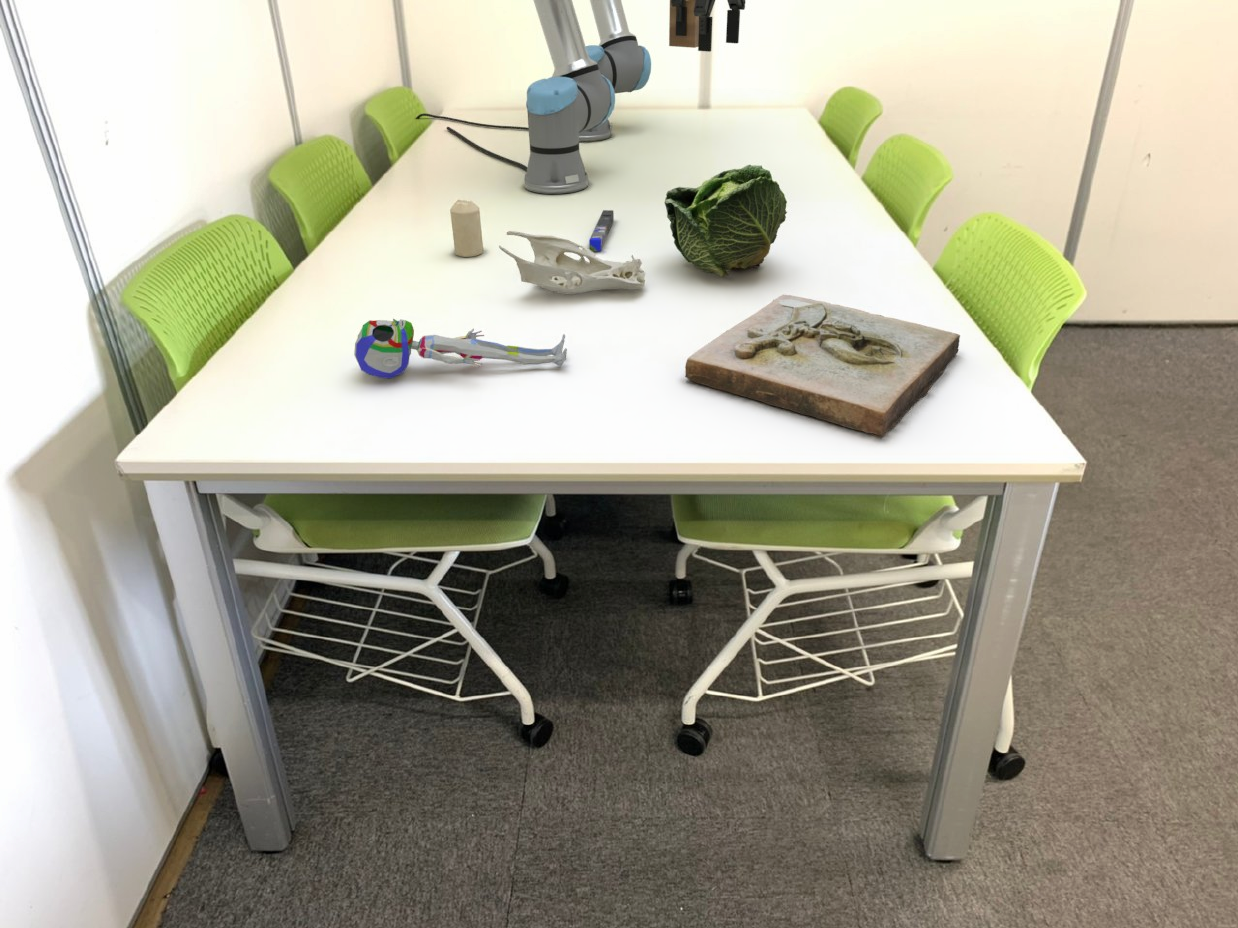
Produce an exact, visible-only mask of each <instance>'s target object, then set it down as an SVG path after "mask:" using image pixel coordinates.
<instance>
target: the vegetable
mask: <svg viewBox="0 0 1238 928" xmlns="http://www.w3.org/2000/svg"><path fill="white" fill-rule="evenodd" d="M665 196H666V197H665V199H664V205H665V208H666V209H665V210H666V218H667V219H668V221H669V222H670V224H669V228H670V231H671V236H672V238H673V239H674V240H673V243H674V245H675V247H676V249H677V250H678V252H680V255H681V256H682V257H683V258H684V259H685V261H686V262H687V263H688V264H689V263H691V264H692V265H693V266H694V267H695V268H696V269H699V270H700V271H702V272H704V273H708V274H714V275H715V274H716V275H718V276H719V277H721V278H723V277H724V276H730V274H729V273H728V272H729V271H732V270H734V269H740V268H742V269H747V268H748V267H754V268H756V267H757V268H760V266H761V264H763V263H764V261H765V258H766V257H767V256H768V255H769V253H770V250H771V245H772V244H774V243H775V241H776V239H777V236H778V235H777V234H778V231H779V229H780V227H781V225H782V224H783V223H784V222H786V218H787V216H786V214H787V213H788V211H787V203H788V201H787V199H786V196H785V194H784V192H783V191H782V189H781V188H780V184H779V183H778V181H777V180H774V179H773V176H772V173H771V171H770V170H768V169H765V168H763V165H755V164H754V165H751V164H748V165H745V166H743V167H742V168H732V169H729V170H723V171H721V172H720V173H718V174H716V175H714V176H713V177H711V178H709V179H707V180H704V181H703V182H702V184H701V185H700V186H698V187H684V186H677V187H674V188H672V189H670V190H668V191H667V192H666V194H665Z"/></svg>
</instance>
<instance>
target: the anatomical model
mask: <svg viewBox="0 0 1238 928" xmlns="http://www.w3.org/2000/svg"><path fill="white" fill-rule="evenodd" d="M506 235H507V236H516V237H520V238H523V239H527V241H529V242H530V247H531V249H532V251H533V254H534V255H533V256H534V261H533V262H532V261H529V260H526V259H523V258H521V257H519V256H517V255H516V254H514V253H512V252H510V251H509V250H507V248H505V247H503V246H502V245H500V244H499V245H498V248H499V250H501V251H502V252H503V253H505V254H506V255H508V256H509V257H511V258H512V259H514V261H515V262H516V266H517V269H518V272H519V274H520V282H522V283H527V284H532V285H534V286H535V285H536V286H538V287H539V288H541V289H544V290H547V291H550V292H552V293H556V294H565V295H577V294H581V293H585V292H590V291H598V290H599V291H600V290H616V289H617V290H637V289H642V288H644V287H645V285H646V279H645V277H646V272H645V270H644V269H642V268H641V266H642V264H643V262H642V261H641V260H642V259H640V258H634V255H633V254H632V255H631V259H632V260H631V261H630V260H627V261H625V262H622V261H613V260H605V259H601V258H599V257H597V256H596V253H595V252H594V251H591V250H589V248H587V247H585V246H584V245H581V244H578V243H577V242H574V241H572V240H570V239H566V238H561V237H558V236H554V235H541V234H532V233H525V232H522V231H521V232H520V231H516V230H507V231H506ZM580 248H581V249H580ZM565 253H571V254H575V255H577V256H579V257H580V258H579V259H575V258H572V257H571V256H570V255H569V256H568V255H567V254H565ZM584 257H585V258H586V259H587V260H588V261H587V260H585V258H584Z"/></svg>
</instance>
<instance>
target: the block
mask: <svg viewBox="0 0 1238 928" xmlns="http://www.w3.org/2000/svg"><path fill="white" fill-rule="evenodd" d="M695 2H696V0H686V3H685V7H687V31H686V36H678V35H676V7H673V6H672V4H671V0H669V18H668V19H669V21H668V22H669V23H668V24H669V30H668V32H669V34H668V46H669V47H678V48H692V49H694V48H698V39H699V17H698V16H694V6H695Z"/></svg>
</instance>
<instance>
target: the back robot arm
mask: <svg viewBox="0 0 1238 928" xmlns="http://www.w3.org/2000/svg"><path fill="white" fill-rule="evenodd" d="M589 3H590V6H591V11H592V13H593V14H592V15H593V17H594V22H595V25H596V29H597V33H598V37H599V41H600V42H599V44H597V45H596V44H591V45H585V46H586V50H587V53H588V56H589V58H590V59H592V60H593V61H595V62H597V64H598V68H599V71H600V74H601V75H603V76H604V77H605V78H607V79H608V80H609V81H610V82H611V84H612V86H613V88H614V92H615V95H616V94H623V93H632V92H635V91H639V90H641V89H643V88H644V87H645V86H646V85H647V83H648V82H649V79H650V75H651V73H652V58H651V55H650V52H649V50H648V49H647V48H646V47H645V46H643V45H640V44H639V43H638V42H639V41H638V39H637V35H635V34H634V33H631V32H630V29H629V25H628V21H627V18H626V13H625V10H624V6H623V3H622V0H589ZM685 3H686V0H671V4H672V6H673V7H676V35H678V36H686V31H687V7H685ZM421 117H429V118H433V119H440V120H441V119H442V120H447V121H453V122H458V123H463V124H467V125H472V126H478V127H484V128H492V129H493V128H495V129H508V130H523V131H529V128H528V127H526V126H525V127H524V126H513V125H512V126H511V125H510V126H509V125H495V124H486V123H479V122H473V121H467V120H465V119H458V118H453V117H448V116H444V115H443V116H441V115H435V114H431V113H420V114H418V115H417V116H416V117H415V119H417V120H418V119H420V118H421ZM612 128H613V122H611V123H610V120H609V118H608V119H607V120H606V121H605V122H603V123H602V124H600V125H599V126H597V127H594V128H591V129H588V130H585V131H582V132H580V133H579V143H580V142H581V143H583V142H584V143H585V142H586V143H587V142H599V141H603V140H607V139H610V138H612Z"/></svg>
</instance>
